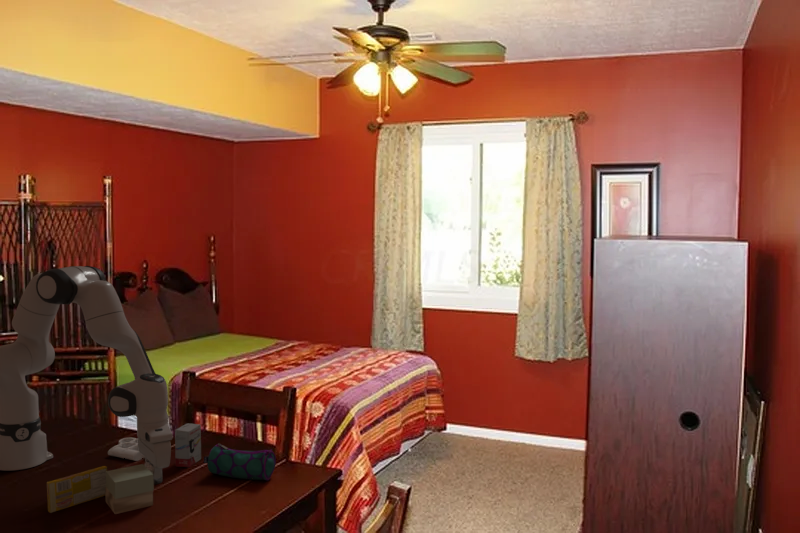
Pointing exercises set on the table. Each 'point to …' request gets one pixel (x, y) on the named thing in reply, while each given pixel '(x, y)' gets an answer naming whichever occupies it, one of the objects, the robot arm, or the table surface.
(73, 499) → the candy box
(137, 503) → the birch block
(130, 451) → the knuckle duster
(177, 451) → the ink box
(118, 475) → the sage block
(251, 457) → the pencil case
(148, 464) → the metal cylinder
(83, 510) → the table surface
